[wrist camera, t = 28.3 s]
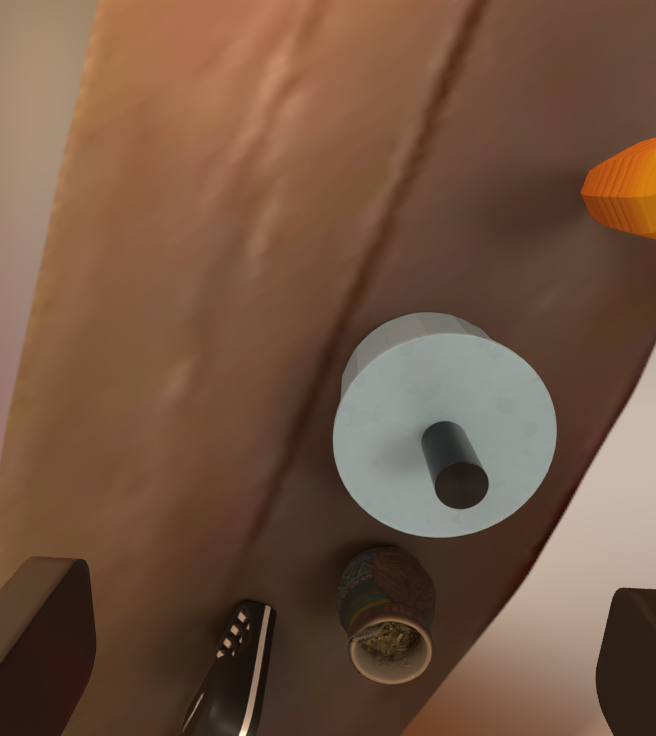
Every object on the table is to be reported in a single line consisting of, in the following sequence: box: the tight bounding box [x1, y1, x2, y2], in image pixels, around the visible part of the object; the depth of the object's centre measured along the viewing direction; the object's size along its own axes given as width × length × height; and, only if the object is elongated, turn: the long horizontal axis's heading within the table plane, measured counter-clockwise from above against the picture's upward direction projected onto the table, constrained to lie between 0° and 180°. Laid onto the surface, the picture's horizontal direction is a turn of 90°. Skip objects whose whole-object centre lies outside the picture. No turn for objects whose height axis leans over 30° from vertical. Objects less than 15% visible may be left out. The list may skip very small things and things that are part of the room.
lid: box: [333, 332, 557, 537], centre depth 30 cm, size 13×13×6 cm
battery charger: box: [180, 601, 276, 736], centre depth 40 cm, size 7×4×11 cm, turn 154°
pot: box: [341, 312, 492, 399], centre depth 36 cm, size 12×12×7 cm
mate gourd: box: [336, 547, 436, 685], centre depth 39 cm, size 7×8×10 cm
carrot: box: [580, 138, 656, 240], centre depth 28 cm, size 5×5×15 cm
